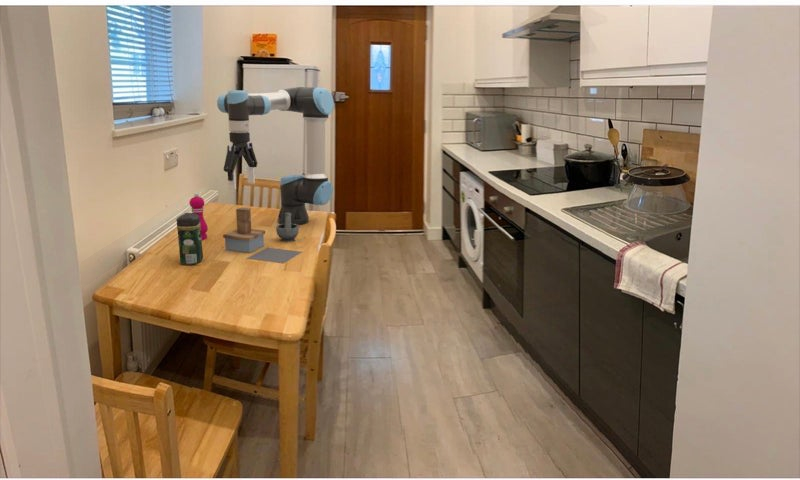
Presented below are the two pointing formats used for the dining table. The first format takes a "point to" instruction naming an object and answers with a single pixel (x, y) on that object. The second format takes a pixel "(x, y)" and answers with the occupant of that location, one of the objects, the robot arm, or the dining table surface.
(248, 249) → the blue-grey square box
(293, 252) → the mat
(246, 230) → the lid
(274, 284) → the dining table surface
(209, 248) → the dining table surface
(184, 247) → the coffee jar
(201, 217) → the pepper mill
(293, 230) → the mortar and pestle
